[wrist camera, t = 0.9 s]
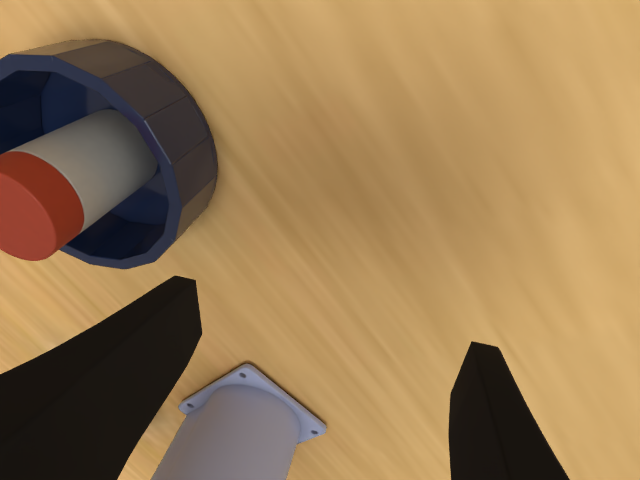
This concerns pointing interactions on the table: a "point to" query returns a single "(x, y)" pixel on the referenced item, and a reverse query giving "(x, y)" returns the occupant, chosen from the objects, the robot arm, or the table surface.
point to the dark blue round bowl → (143, 112)
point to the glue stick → (69, 182)
